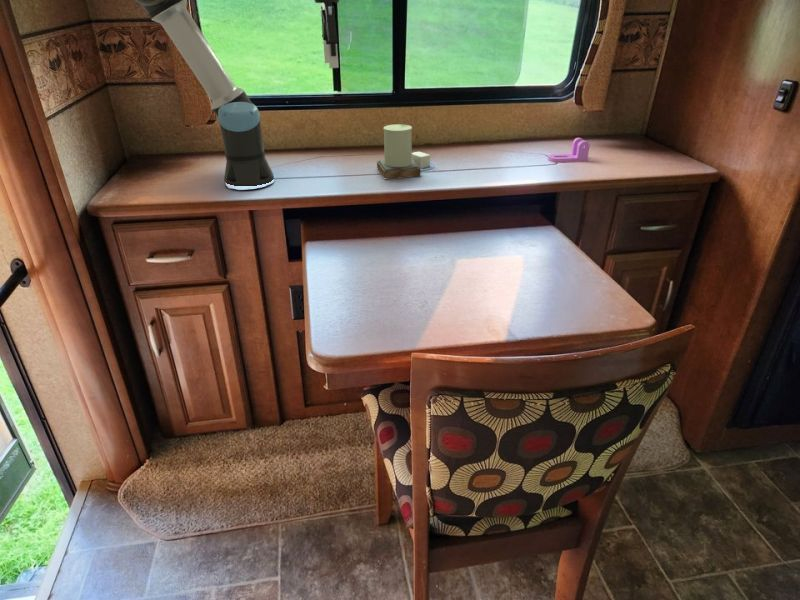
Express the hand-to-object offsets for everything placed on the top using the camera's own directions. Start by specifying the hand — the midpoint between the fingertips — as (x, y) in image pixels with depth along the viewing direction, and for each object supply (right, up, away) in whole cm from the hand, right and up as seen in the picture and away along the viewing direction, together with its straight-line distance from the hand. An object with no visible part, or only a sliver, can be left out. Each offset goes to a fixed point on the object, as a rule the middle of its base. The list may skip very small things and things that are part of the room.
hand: (331, 65), depth 165 cm
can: (+21, -30, +6) cm, 37 cm away
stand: (+21, -32, +7) cm, 39 cm away
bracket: (+81, -26, +18) cm, 86 cm away
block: (+29, -28, +14) cm, 43 cm away
